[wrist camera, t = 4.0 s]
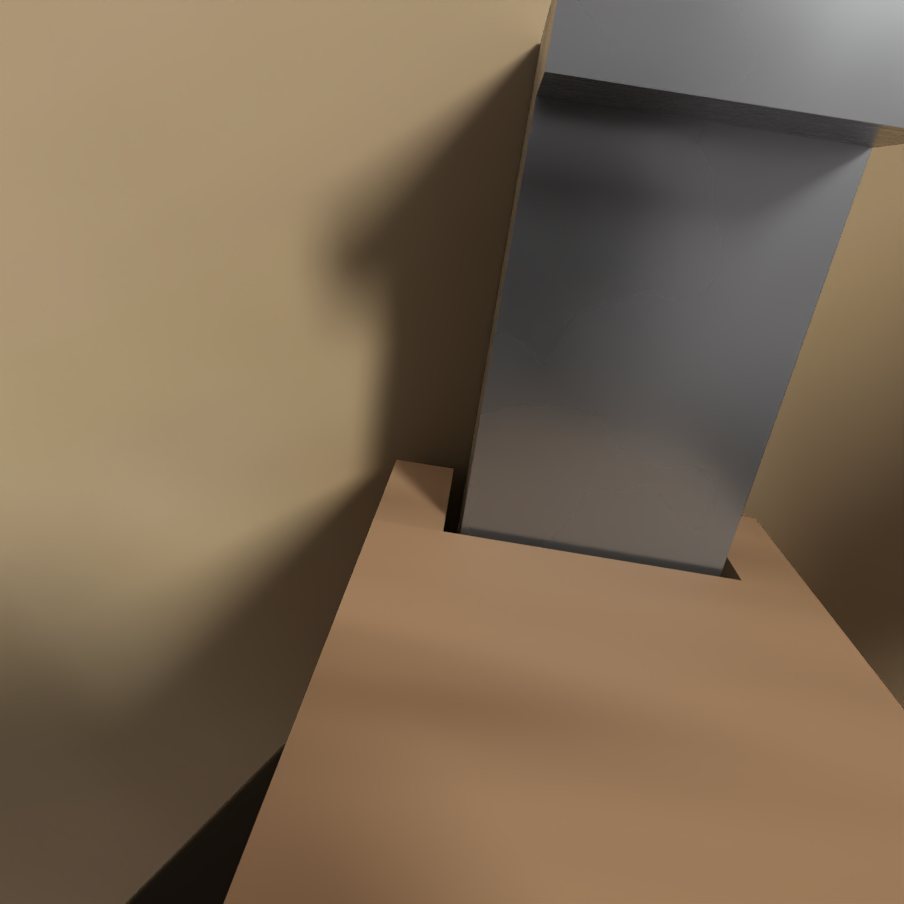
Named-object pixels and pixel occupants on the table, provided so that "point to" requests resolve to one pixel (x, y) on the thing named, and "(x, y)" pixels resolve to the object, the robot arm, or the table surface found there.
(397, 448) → the table surface
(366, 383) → the table surface
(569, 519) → the rail
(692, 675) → the block
